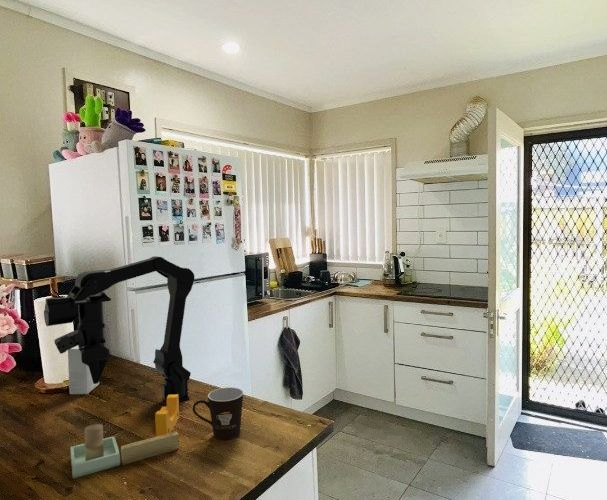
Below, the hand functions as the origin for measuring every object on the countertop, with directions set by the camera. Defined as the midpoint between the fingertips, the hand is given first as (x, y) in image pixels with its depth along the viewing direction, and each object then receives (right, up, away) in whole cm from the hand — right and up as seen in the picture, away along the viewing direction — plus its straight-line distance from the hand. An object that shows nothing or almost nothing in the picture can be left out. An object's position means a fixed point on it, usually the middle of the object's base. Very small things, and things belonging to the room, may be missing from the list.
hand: (94, 378), depth 110 cm
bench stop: (+21, -12, -16) cm, 29 cm away
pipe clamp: (+20, -12, -3) cm, 23 cm away
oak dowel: (+9, -12, -18) cm, 24 cm away
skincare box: (-15, -11, +24) cm, 31 cm away
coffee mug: (+35, -12, -7) cm, 37 cm away
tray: (+9, -13, -18) cm, 24 cm away
